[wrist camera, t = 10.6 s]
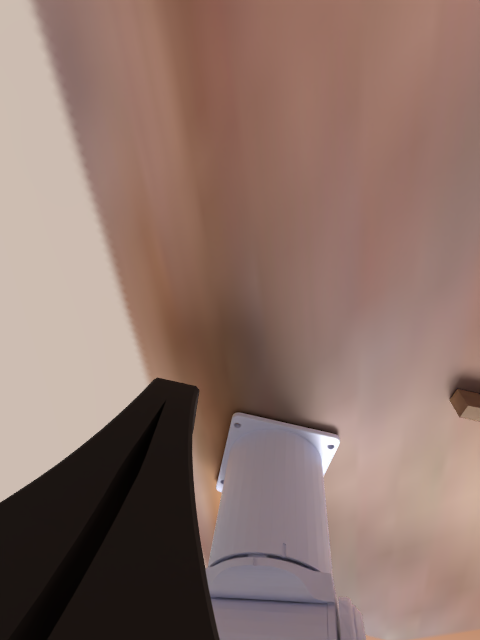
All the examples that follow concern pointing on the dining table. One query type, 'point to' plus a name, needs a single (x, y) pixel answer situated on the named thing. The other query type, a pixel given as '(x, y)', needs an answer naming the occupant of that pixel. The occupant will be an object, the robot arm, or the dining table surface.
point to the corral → (466, 404)
